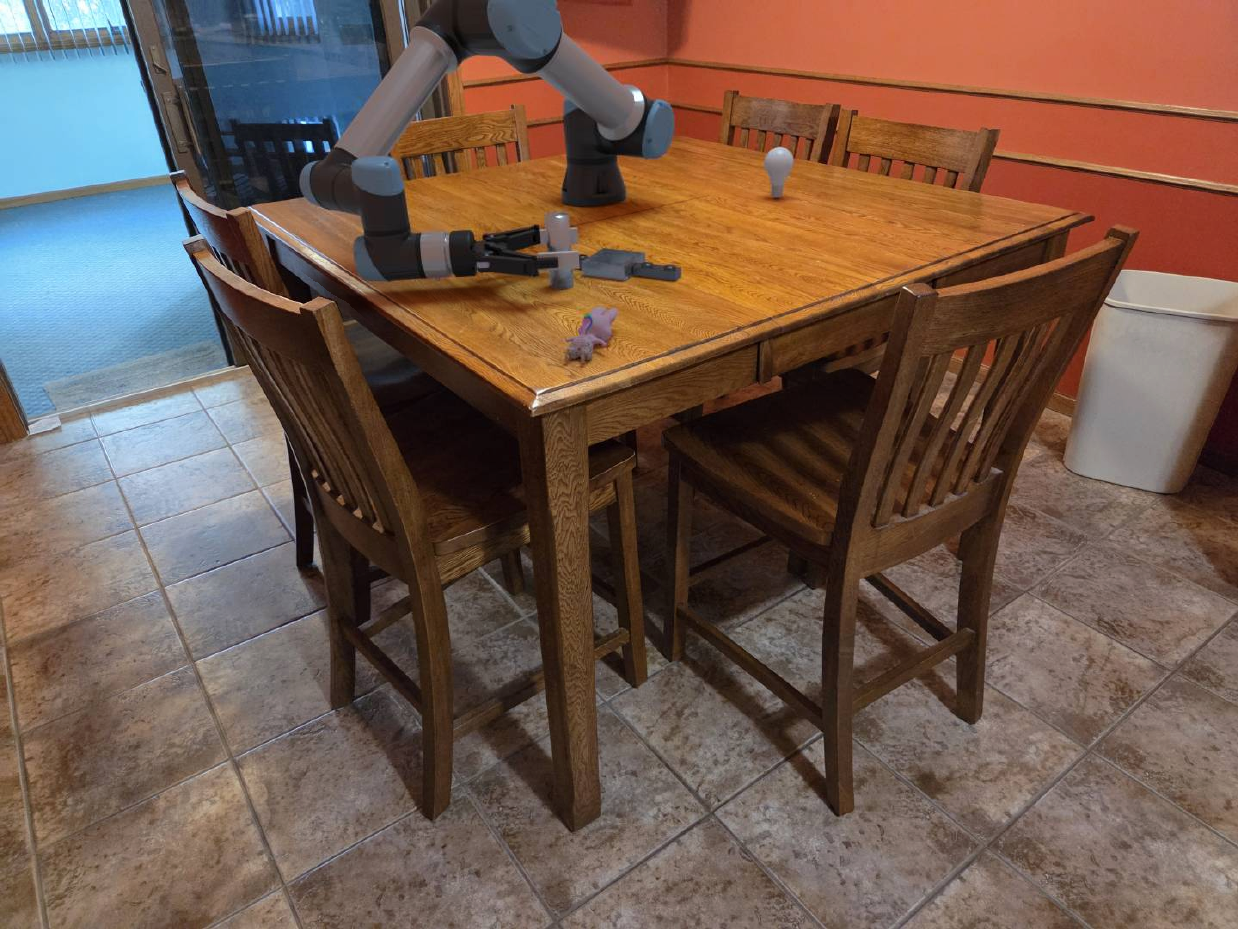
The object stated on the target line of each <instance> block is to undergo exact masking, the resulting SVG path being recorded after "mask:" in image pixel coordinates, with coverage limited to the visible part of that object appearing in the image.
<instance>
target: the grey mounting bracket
mask: <svg viewBox="0 0 1238 929" xmlns="http://www.w3.org/2000/svg"><path fill="white" fill-rule="evenodd" d="M579 267H580V269H579V270H581V274H582V277H590V278H591V277H592V278H599V279H607V280H615V281H621V282H622V281H623V282H626V281H627V280H628V279H630V278H632V277H638V276H642V277H641V278H646V277H649V278H648V279H654V278H656V279H655V280H663V281H671V282H676V281H678V280H679V279H680V278H681V277H682V267H681V266H680V267H679V266H677V265H675V264H664V265H662V264H655V263H653V262H651V261H646V252H640V251H632V250H624V249H617V248H616V249H615V248H606V247H603V248H601V249H599V250H598V251H596V252H594V253H593V254H591V255H590V256H588V254H586V253H585V254H584V253H581V254H580V253H579ZM629 277H630V278H629Z"/></svg>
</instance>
